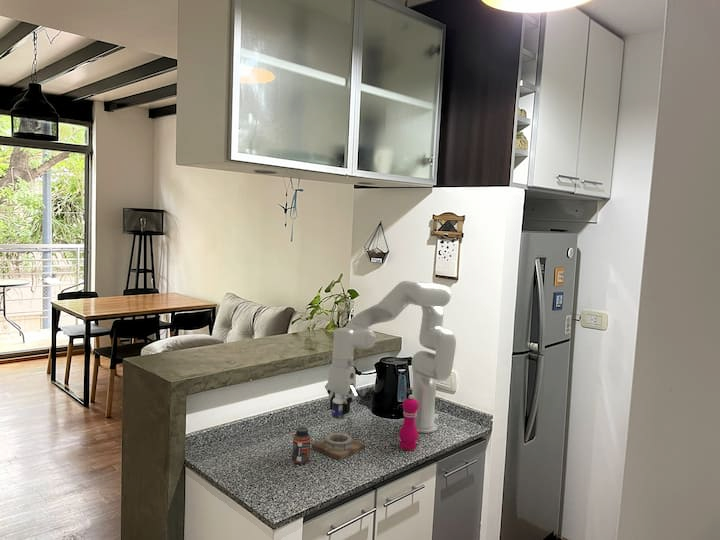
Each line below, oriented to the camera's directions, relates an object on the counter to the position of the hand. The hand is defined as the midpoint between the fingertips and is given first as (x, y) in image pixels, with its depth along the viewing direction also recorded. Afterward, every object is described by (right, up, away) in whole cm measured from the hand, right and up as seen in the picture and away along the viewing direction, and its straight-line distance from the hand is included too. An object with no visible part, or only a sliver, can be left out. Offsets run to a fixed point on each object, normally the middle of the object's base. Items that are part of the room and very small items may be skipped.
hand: (339, 410), depth 193 cm
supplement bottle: (-13, -15, -10) cm, 22 cm away
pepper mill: (+25, -15, +6) cm, 30 cm away
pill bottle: (0, -3, 0) cm, 3 cm away
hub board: (-1, -14, +1) cm, 14 cm away
